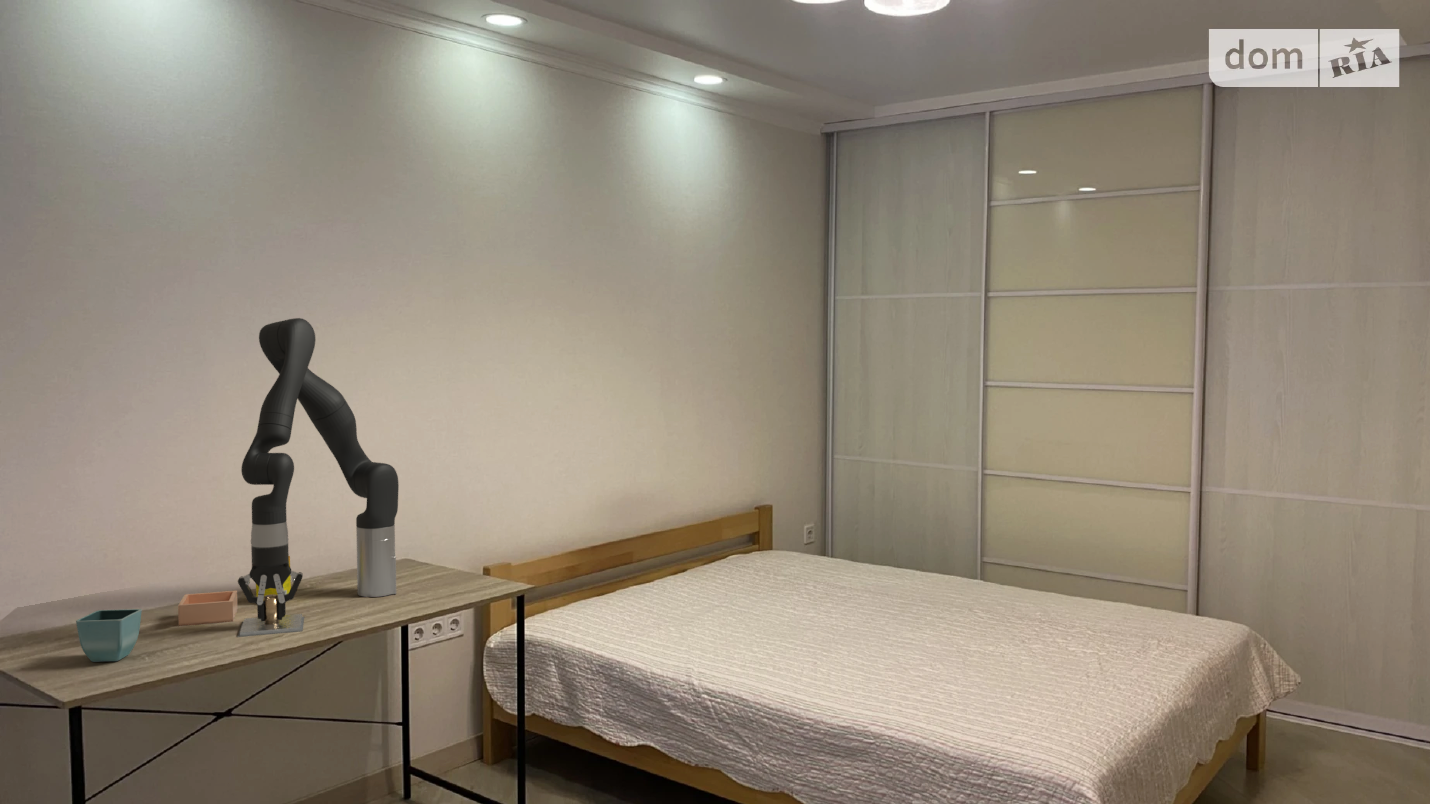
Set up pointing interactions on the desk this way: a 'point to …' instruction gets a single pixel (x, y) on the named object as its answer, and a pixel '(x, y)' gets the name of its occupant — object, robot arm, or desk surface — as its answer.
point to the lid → (271, 620)
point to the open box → (207, 608)
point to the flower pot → (109, 633)
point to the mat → (273, 633)
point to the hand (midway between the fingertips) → (271, 619)
